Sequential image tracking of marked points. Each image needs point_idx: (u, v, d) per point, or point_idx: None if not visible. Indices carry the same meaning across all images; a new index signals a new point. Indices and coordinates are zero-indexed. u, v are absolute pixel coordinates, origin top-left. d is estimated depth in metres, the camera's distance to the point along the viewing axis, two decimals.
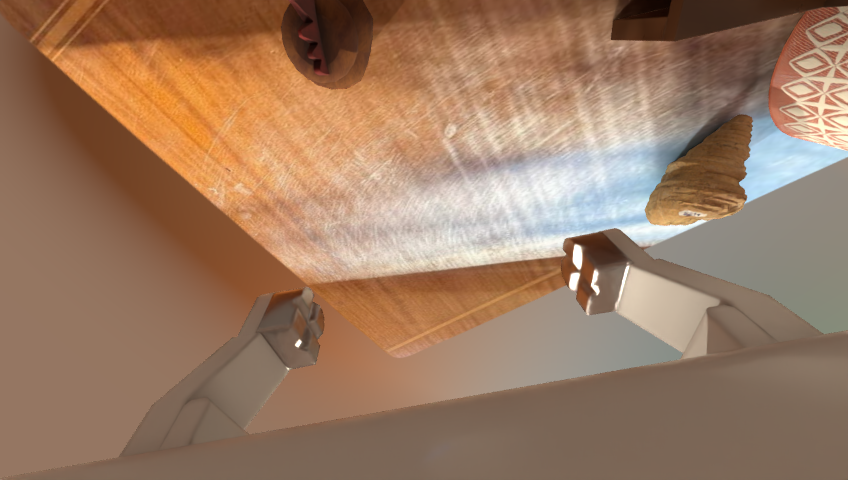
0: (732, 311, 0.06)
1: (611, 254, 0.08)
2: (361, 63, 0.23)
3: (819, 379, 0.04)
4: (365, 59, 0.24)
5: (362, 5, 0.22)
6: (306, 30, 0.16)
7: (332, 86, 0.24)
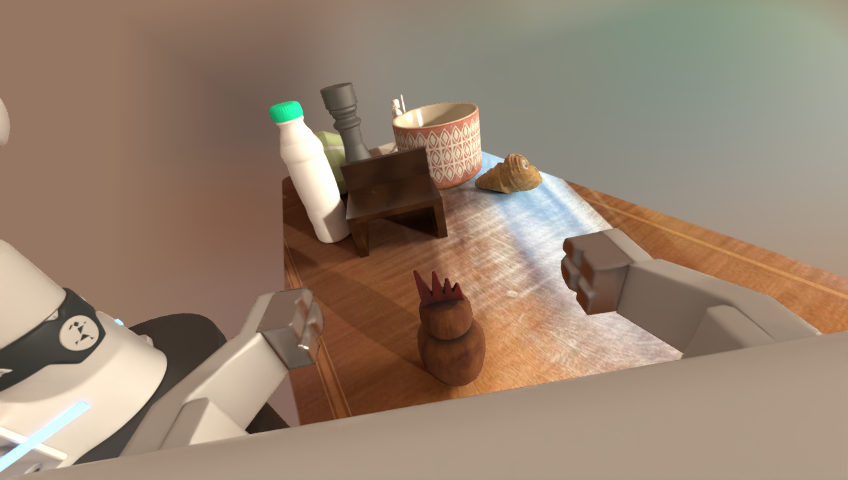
0: (732, 311, 0.06)
1: (611, 254, 0.08)
2: None
3: (819, 379, 0.04)
4: None
5: None
6: (433, 278, 0.26)
7: (480, 330, 0.30)
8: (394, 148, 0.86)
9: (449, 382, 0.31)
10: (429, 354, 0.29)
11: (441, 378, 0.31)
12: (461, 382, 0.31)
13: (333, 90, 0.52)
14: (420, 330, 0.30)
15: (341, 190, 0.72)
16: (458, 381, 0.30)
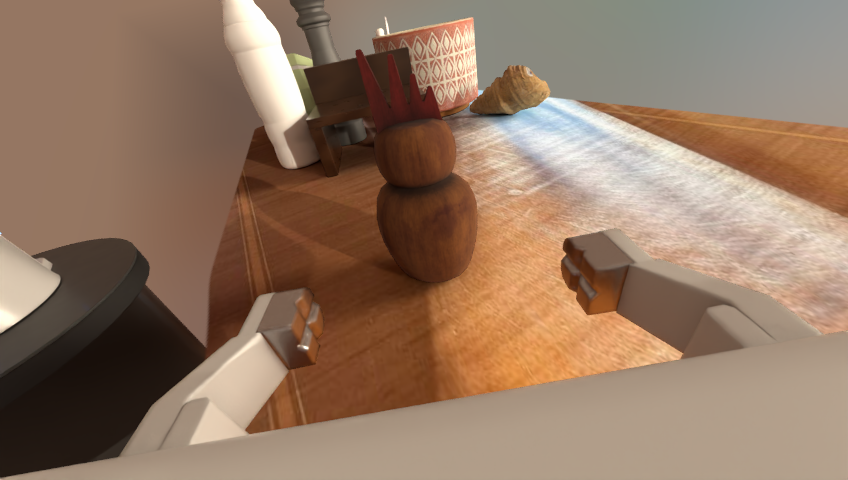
0: (732, 311, 0.06)
1: (611, 254, 0.08)
2: None
3: (819, 379, 0.04)
4: None
5: None
6: (391, 73, 0.16)
7: (469, 187, 0.20)
8: None
9: (424, 273, 0.21)
10: (391, 219, 0.19)
11: (412, 266, 0.21)
12: (441, 270, 0.20)
13: None
14: (380, 192, 0.20)
15: None
16: (437, 268, 0.20)
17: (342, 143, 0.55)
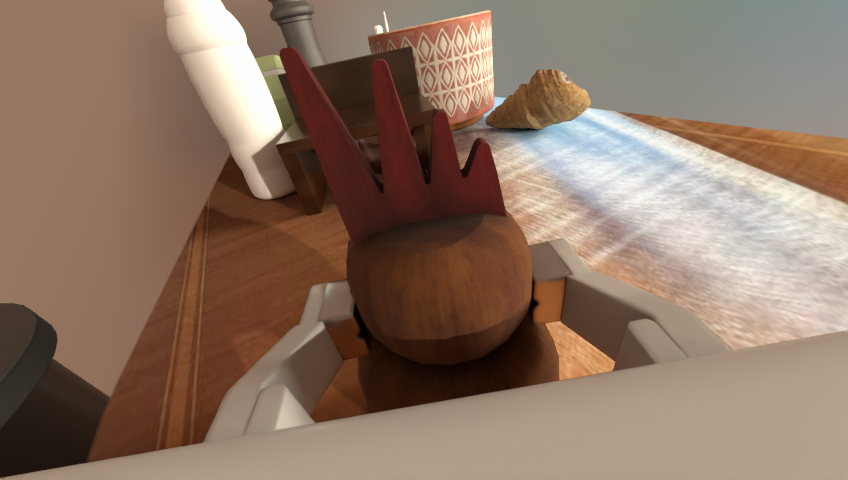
0: (652, 325, 0.06)
1: (552, 265, 0.08)
2: None
3: (819, 379, 0.04)
4: None
5: None
6: (384, 110, 0.06)
7: (547, 331, 0.10)
8: None
9: None
10: (387, 409, 0.09)
11: None
12: None
13: None
14: None
15: None
16: None
17: None
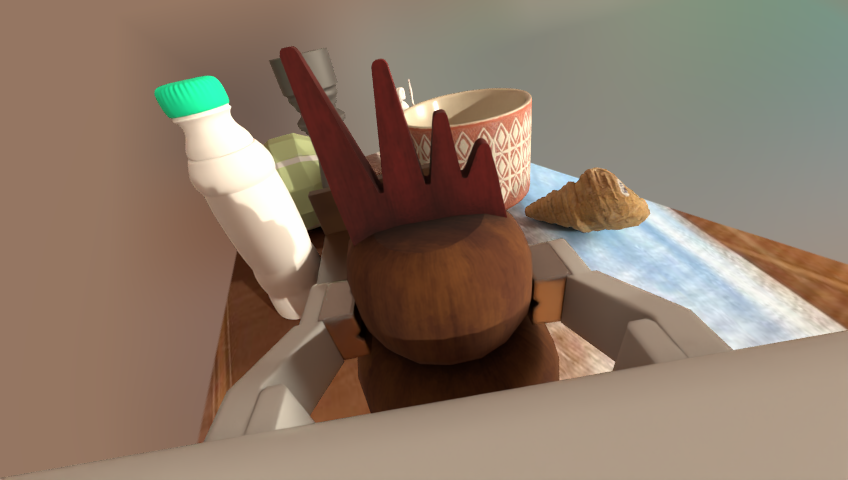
0: (652, 325, 0.06)
1: (552, 265, 0.08)
2: None
3: (819, 379, 0.04)
4: None
5: None
6: (384, 110, 0.06)
7: (547, 332, 0.10)
8: None
9: None
10: (386, 409, 0.09)
11: None
12: None
13: None
14: None
15: None
16: None
17: None
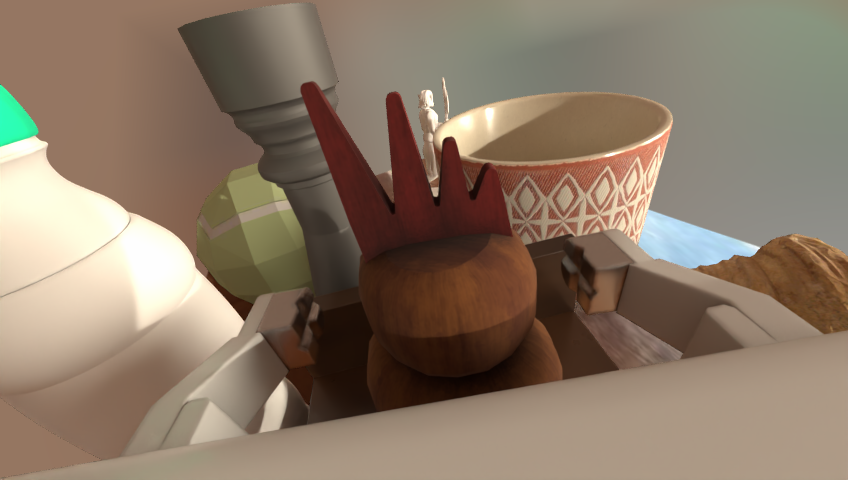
0: (732, 311, 0.06)
1: (611, 254, 0.08)
2: None
3: (819, 379, 0.04)
4: None
5: None
6: (397, 138, 0.07)
7: (551, 343, 0.10)
8: None
9: None
10: None
11: None
12: None
13: (221, 21, 0.11)
14: (373, 339, 0.11)
15: None
16: None
17: None
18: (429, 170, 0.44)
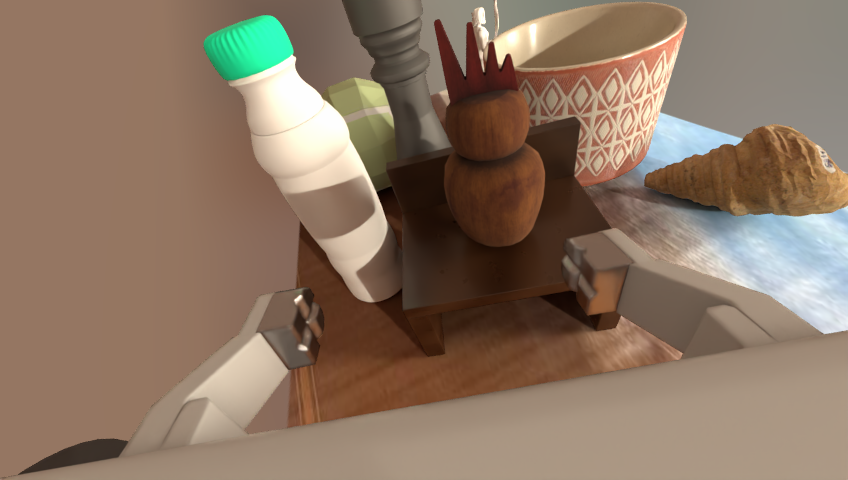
0: (732, 311, 0.06)
1: (611, 254, 0.08)
2: None
3: (819, 379, 0.04)
4: None
5: None
6: (469, 43, 0.16)
7: (539, 158, 0.19)
8: None
9: (486, 239, 0.22)
10: (459, 190, 0.20)
11: (475, 232, 0.22)
12: (503, 238, 0.22)
13: None
14: (448, 160, 0.21)
15: (387, 183, 0.43)
16: (499, 236, 0.21)
17: None
18: None
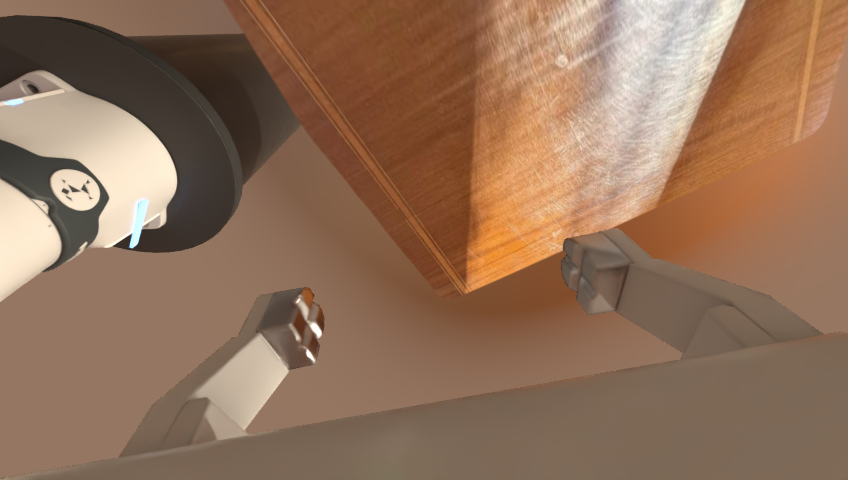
0: (732, 311, 0.06)
1: (611, 254, 0.08)
2: None
3: (819, 379, 0.04)
4: None
5: None
6: None
7: None
8: None
9: None
10: None
11: None
12: None
13: None
14: None
15: None
16: None
17: None
18: None
